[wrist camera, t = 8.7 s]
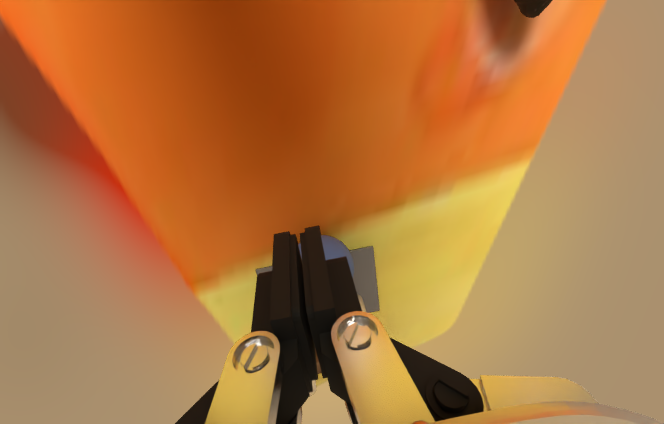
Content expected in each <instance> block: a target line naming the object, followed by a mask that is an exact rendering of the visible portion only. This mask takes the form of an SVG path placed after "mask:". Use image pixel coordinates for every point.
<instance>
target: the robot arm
mask: <svg viewBox="0 0 664 424" xmlns="http://www.w3.org/2000/svg"><path fill="white" fill-rule="evenodd" d="M300 243H301V255H302V259H301V255H300V251H299V246H298V242H297V238H296V235H295V234H293V235H290V233H289V231H288V232H283V233H278V234H274V243H273V263H272V271H268V272H263V273H259V274H258V276H257V283H256V292H255V301H254V311H253V320H252V329H251V333H249V334H247V335H245V336H243V337H242V338H241V339H239V340H238V341H237V342H236V343H235V344H234V345H233V346H232V348H231V350H230V351H229V354H228V356H227V359H226V362H225V365H224V368H223V371H222V374H221V377H220V380H219V381H218V382H217V383H216V384H215V385H214V386H213V387H212V388H210V389H209V390H208V391H207V392H206V393H205V395H203V397H201V398H200V400H199V401H197V402H196V403H195V404H194V405H193V406H192V407H191V408H190V409H189V410H188V411H187V412H186V413H185V414H184V415H183V416H182V417H181V418H180V419H179V420H178V421H177V422H176V423H175V424H301V422H302V407H301V406H302V405H303V404H304V402H305V401H306V400H307V398H308V397H309V396H310V394H309V393H310V392H313V386H312V381H313V380H318V372H317V362H316V353H317V357H318V360H319V364H320V368H321V372H322V376H323V378H328V382H329V386H330V390H331V391H332V392H333V393H335V394H336V395H337V396H339V397H340V398H341V399H343V400H344V401H345V405H346V408H347V411H348V414H349V417H350V421H351V423H352V424H664V423H662V422H660V421H658V420H656V419H653V418H650V417H648V416H645V415H642V414H639V413H635V412H632V411H629V410H625V409H621V408H617V407H612V406H607V405H603V404H599V403H598V402H597V401H596V400H595V398H594V397H593V396H592V395H591V394H590V393H589V392H588V391H587V390H586V389H584V388H583V387H582V386H580V385H579V384H577V383H575V382H573V381H570V380H568V379H564V378H559V377H537V376H492V375H491V376H489V375H480V379H469V378H467V377H466V376H464V375H463V374H461V373H459V372H457V371H455V370H454V369H451V368H450V367H448V366H446V365H444V364H441V363H439V362H437V361H436V360H434V359H432V358H430V357H428V356H426V355H424V354H422V353H420V352H418V351H416V350H414V349H412V348H410V347H408V346H406V345H404V344H402V343H400V342H398V341H396V340H394V339H392V338H390V337H389V336H388V334H387V333H386V331H385V329H384V327H383V325H382V323H381V322H380V321H379V320H378V318H377V317H375V316H374V315H372V314H370V313H367V312H364V311H362V309H361V305H360V302H359V298H358V295H357V291H356V288H355V284H354V281H353V278H352V274H351V271H350V267H349V264H348V260H347V257H346V256H344V257H339V258H334V259H329V260H326V259H325V254H324V249H323V243H322V238H321V233H320V228H319V226H315V227H309V228H305V232H304V233H300ZM315 349H316V352H315Z"/></svg>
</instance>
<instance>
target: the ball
mask: <svg viewBox="0 0 664 424" xmlns="http://www.w3.org/2000/svg"><path fill="white" fill-rule="evenodd" d="M321 238H322V243H323V249H324V254H325V259H326V260H329V259H334V258H339V257H344V256H346V257H347V260H348V264H349V267H350V271H351V274H352V278H353V275H354V262H353V258H352V255H351V253H350V251H349V250H348V248H347V247H346V246H345V245H344V244H343V243H342V242H341V241H339V240H338V239H336V238H334V237H331V236H327V235H321ZM298 246H299V251H300V255H301V243H299V244H298ZM301 259H302V255H301Z"/></svg>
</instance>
